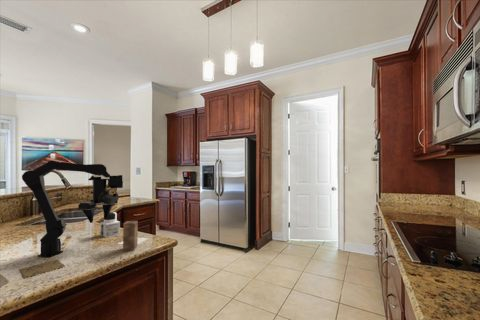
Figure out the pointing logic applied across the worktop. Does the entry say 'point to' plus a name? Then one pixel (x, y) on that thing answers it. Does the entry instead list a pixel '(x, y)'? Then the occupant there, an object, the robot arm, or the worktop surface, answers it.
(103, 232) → the container
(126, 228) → the walnut block
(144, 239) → the tile
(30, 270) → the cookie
